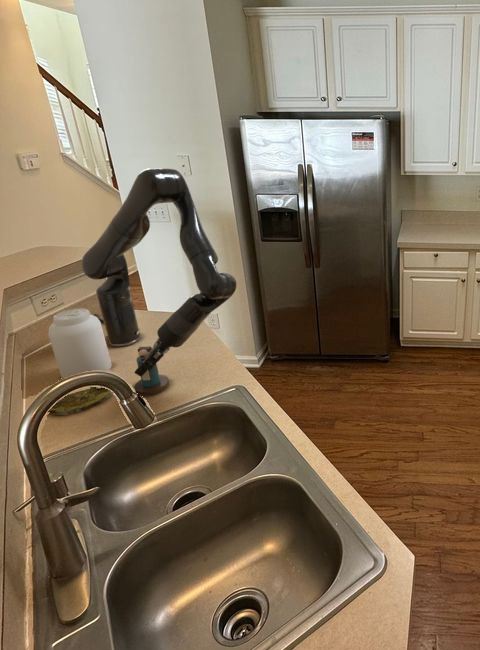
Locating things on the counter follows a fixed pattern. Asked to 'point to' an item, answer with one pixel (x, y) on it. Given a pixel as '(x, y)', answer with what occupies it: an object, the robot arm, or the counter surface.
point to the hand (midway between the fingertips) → (143, 365)
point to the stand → (154, 389)
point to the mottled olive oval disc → (80, 401)
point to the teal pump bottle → (151, 375)
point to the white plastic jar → (78, 342)
